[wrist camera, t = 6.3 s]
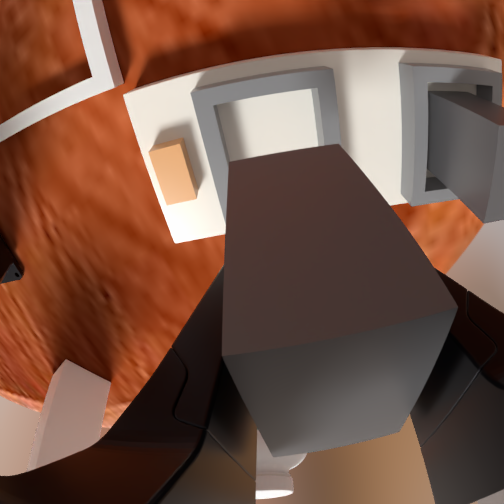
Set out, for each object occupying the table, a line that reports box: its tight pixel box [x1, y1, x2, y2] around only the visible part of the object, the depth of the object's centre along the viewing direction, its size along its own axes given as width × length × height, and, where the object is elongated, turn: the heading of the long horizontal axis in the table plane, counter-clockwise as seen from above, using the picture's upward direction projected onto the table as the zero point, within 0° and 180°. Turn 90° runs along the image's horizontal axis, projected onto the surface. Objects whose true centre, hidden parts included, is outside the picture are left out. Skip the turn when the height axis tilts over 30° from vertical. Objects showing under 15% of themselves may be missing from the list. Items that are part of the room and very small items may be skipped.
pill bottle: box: [255, 428, 307, 499], centre depth 23 cm, size 8×7×14 cm
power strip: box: [123, 47, 502, 243], centre depth 15 cm, size 21×9×4 cm, turn 101°
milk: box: [27, 359, 111, 472], centre depth 23 cm, size 6×6×22 cm
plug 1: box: [222, 143, 458, 457], centre depth 7 cm, size 3×4×6 cm, turn 11°
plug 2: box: [427, 91, 504, 223], centre depth 12 cm, size 3×4×6 cm, turn 11°
